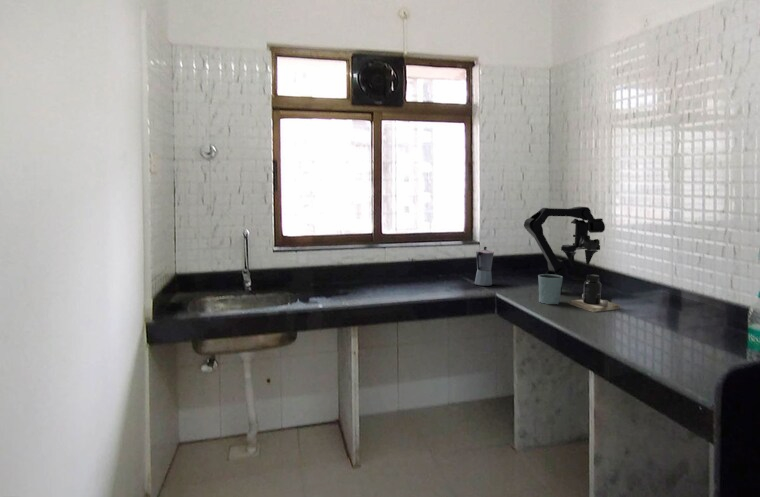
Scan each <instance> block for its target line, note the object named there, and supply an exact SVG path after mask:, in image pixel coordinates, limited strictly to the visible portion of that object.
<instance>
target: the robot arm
mask: <svg viewBox="0 0 760 497" xmlns="http://www.w3.org/2000/svg"><path fill="white" fill-rule="evenodd" d="M549 217H570V218H574V219H573V220H572V221H571V222H570V224H573V225H574V226H575V227H574V234H573V235H572V237H573V238H574V242H573V243H572V244H562V245H561V247H560V248H561V249H560V250H561V252H563V253H564V254H565V256H566V257H567V259H568V261H569V263H570V266H571V267H574V264H575V255H576V254H577V252H576V251H577V250H584V255H585V257H584V258H585V262H586V265H588V266H589V265H590V262H591V260H592V258H593V256H594V255H595V253H597V252H599V251H600V250H601V243H600V240H599V239H598V238H594V239H591V235H589V233H590V234H593V233H594V234H596V233H597V234H599V233H604V231H605V229H606V224H605V222H604V219H603V218H602V217H601V218H599V217H598V218H595V217H594V216H593V214H592V211H591V209H590V208H589V207H588V206H575V207H571V208H556V207H555V208H554V207H553V208H550V207H541V209H539V210H537V212H536V213H534V214H533V215H531V216H530V217H528V218H527V219H525V220H524V222H523V223H524V224H523V227H524V229H525V231H527V233H529V234H530V235H531V236H532V237H533V238H534V240H535V242H536V243H537V246H538V247H539V249H540V251H541V253H542V254H543V257H544V258H545V260H546V262H547V268H548V270H547V272H545V274H553V275H560V276H562V277H563V279H562V282H564V279H565V277H566V276H567V273H568V266H566V264H565V261H564V260H562V259H559V258H557V256H556V254H555V252H554V251H553V248H552V247H551V245H550V244H549V241H548V240H547V238H546V236H545V235H544V228H543V225H544V224H545V222H546V221H547V219H548V218H549ZM562 292H563V285H562V286H561V293H560V295H562Z"/></svg>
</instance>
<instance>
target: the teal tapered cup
mask: <svg viewBox="0 0 760 497" xmlns="http://www.w3.org/2000/svg"><path fill="white" fill-rule="evenodd" d="M537 277H538V278H537V279H538V303H539V302H541V303H546V304H557V305H559V304H560V301H561V294H562V292H561V286H562V287H563V281H562V279H563V277H562V276H560V275H553V274H546V273H541V274H538V275H537ZM563 280H564V279H563ZM560 293H561V294H560ZM541 303H540V304H541ZM546 304H545V305H546Z"/></svg>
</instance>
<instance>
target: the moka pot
mask: <svg viewBox="0 0 760 497" xmlns="http://www.w3.org/2000/svg"><path fill="white" fill-rule="evenodd" d="M487 248H488V247H487V246H483V249H481V250H476V253H475V256H476V269H477V270H476V274H475V279H474V284H475V285H477V286H482V287H483V286H487V287H488V286H492V285H493V280H492V279H493V278H492V266H493V259H494V251H491V250H487Z"/></svg>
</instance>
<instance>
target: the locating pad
mask: <svg viewBox="0 0 760 497" xmlns="http://www.w3.org/2000/svg"><path fill="white" fill-rule="evenodd" d="M569 305H571V306H574V307H577V308H580V309H584V310H585V311H590V312H593V313H596V312H605V311H612V310H613V311H614V310H619V309H620V310H621V305H620V304H618V303H614V302H611V301H609V300H608V299H601V300H600V304H596V305H593V304H586V303H584V302H583V293H582V294H581V299H574V300H573V299H572V300H569Z"/></svg>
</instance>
